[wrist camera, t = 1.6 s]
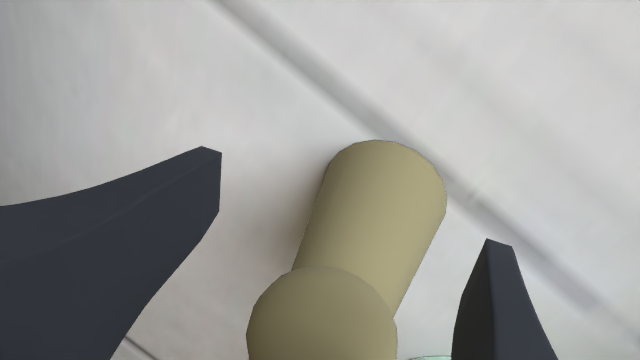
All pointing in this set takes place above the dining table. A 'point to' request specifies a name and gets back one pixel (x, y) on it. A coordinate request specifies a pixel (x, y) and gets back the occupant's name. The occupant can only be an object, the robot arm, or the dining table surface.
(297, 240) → the dining table surface
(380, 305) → the cork
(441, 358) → the green bowl
